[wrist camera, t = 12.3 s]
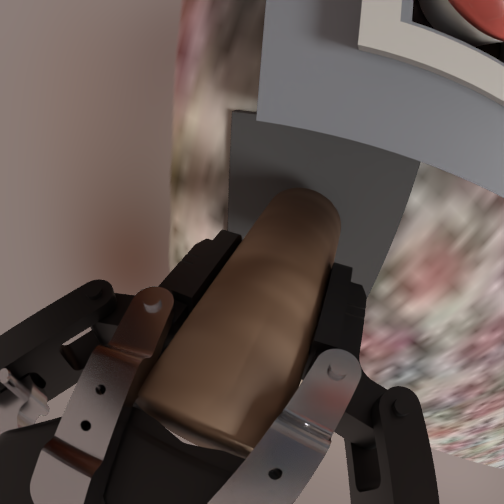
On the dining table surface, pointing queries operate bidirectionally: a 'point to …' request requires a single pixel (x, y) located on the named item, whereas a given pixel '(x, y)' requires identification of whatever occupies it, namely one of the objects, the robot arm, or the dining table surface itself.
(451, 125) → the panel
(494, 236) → the dining table surface
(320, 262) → the dowel
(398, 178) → the mat
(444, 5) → the plunger
